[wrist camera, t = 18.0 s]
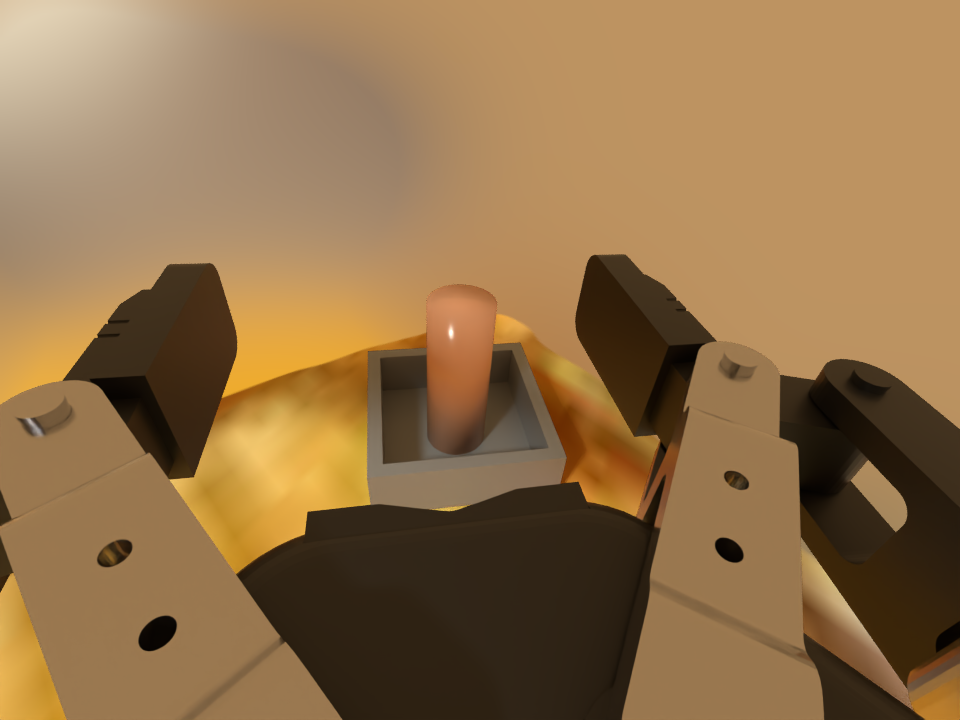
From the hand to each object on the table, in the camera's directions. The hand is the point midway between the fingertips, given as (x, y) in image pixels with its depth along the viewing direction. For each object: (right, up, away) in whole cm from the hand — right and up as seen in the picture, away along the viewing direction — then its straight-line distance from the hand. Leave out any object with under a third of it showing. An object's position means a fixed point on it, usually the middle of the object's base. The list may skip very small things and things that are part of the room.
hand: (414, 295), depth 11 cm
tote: (-1, -9, +37) cm, 38 cm away
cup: (-1, -9, +37) cm, 38 cm away
